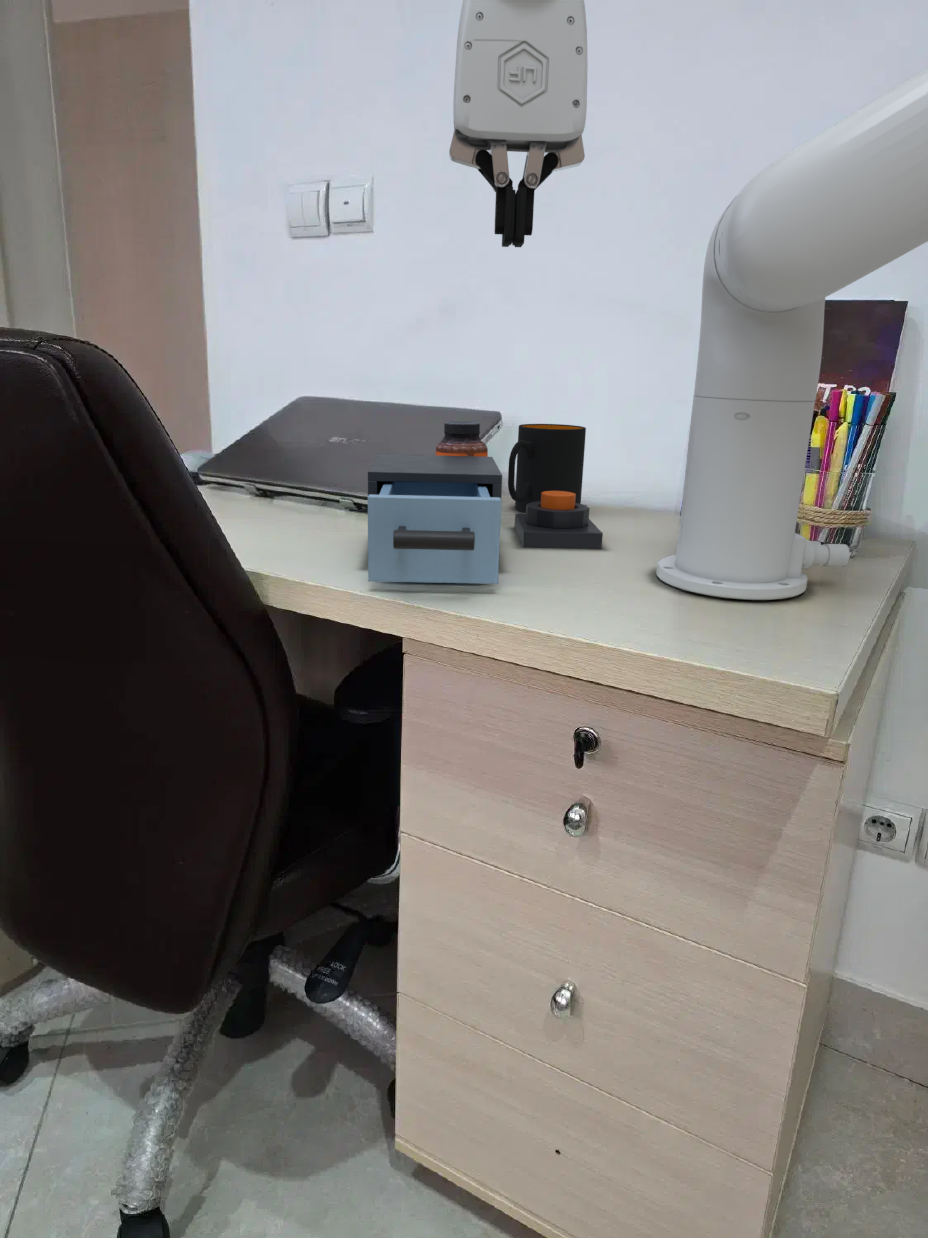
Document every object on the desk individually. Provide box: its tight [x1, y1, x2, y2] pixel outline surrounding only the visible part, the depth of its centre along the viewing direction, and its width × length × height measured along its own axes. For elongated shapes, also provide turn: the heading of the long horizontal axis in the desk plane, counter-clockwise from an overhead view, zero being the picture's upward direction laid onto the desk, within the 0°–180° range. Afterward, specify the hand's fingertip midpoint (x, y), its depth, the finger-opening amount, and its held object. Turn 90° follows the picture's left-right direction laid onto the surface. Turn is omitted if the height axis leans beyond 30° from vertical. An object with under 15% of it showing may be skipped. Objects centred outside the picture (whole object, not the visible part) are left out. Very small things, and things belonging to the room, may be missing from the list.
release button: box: [541, 491, 576, 510], centre depth 87 cm, size 4×4×2 cm
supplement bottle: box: [435, 420, 489, 457], centre depth 94 cm, size 6×6×11 cm
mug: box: [507, 423, 587, 514], centre depth 102 cm, size 8×12×10 cm
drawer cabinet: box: [367, 453, 503, 499], centre depth 79 cm, size 14×12×9 cm
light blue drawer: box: [367, 481, 502, 585], centre depth 69 cm, size 17×10×7 cm, turn 2°
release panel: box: [514, 501, 604, 550], centre depth 88 cm, size 8×10×4 cm
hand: (512, 244), depth 68 cm, fingers closed
